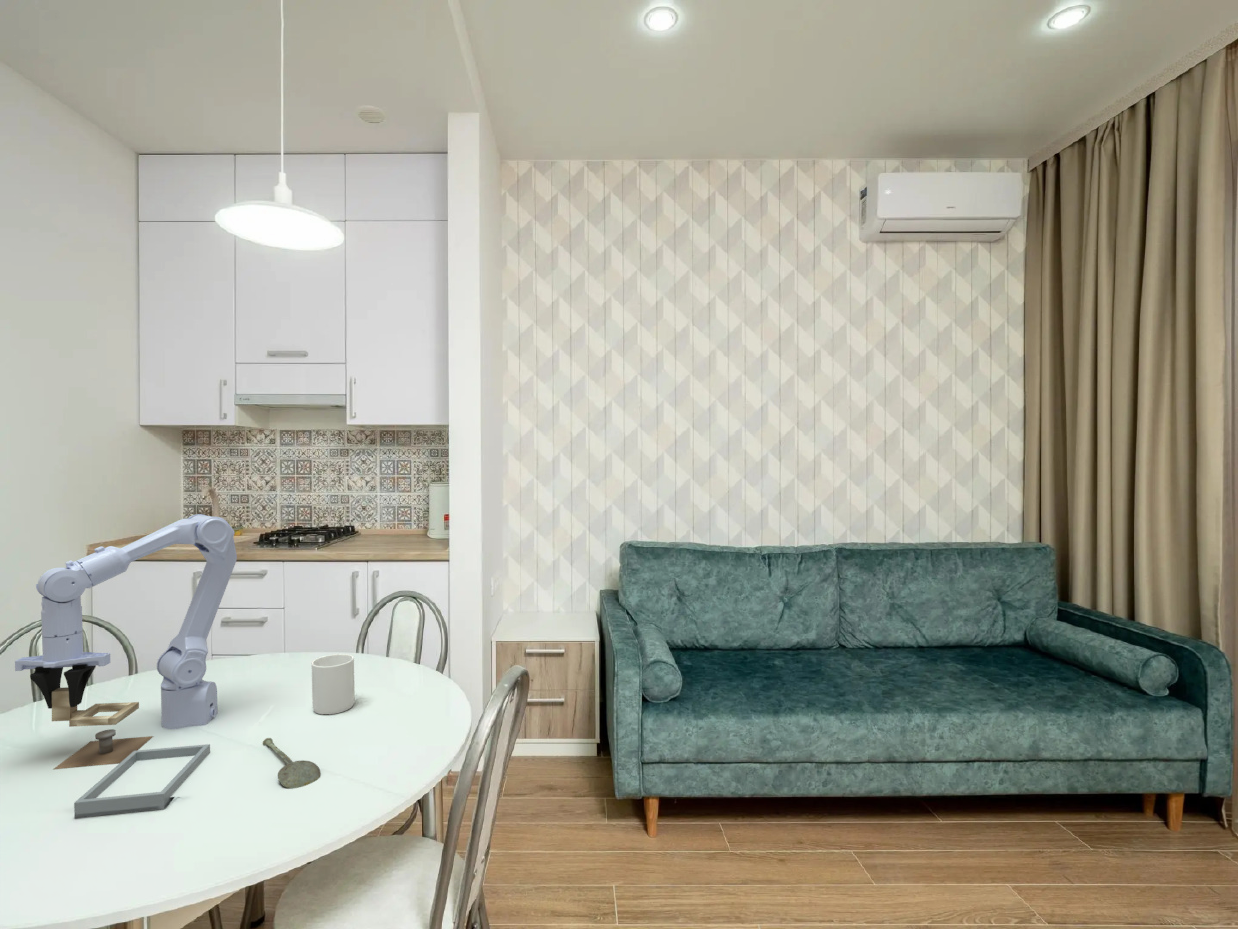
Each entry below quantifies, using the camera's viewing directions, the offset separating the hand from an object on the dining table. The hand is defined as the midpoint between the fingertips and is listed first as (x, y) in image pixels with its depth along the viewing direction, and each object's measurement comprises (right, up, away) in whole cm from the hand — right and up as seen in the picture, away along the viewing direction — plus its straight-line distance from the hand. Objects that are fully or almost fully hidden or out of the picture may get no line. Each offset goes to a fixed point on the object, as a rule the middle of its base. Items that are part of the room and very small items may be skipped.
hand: (64, 705), depth 120 cm
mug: (+38, -10, +26) cm, 47 cm away
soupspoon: (+41, -11, -1) cm, 43 cm away
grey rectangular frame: (+22, -11, -8) cm, 25 cm away
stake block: (+6, -10, +2) cm, 12 cm away
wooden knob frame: (+4, -3, +1) cm, 5 cm away
